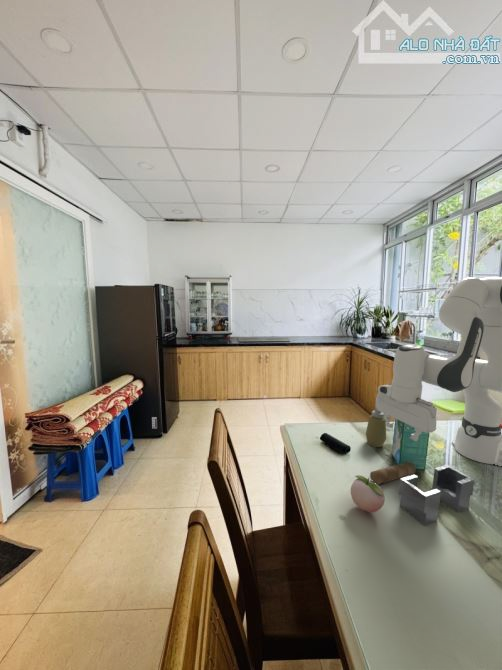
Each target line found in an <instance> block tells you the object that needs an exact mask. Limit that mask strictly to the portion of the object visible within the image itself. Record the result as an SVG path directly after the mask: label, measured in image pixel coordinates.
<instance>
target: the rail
mask: <svg viewBox="0 0 502 670" xmlns="http://www.w3.org/2000/svg"><path fill="white" fill-rule="evenodd" d="M416 471H417V468H415V466H414V465H413V464H412V463H411V462H405V463H402V464H395V465H392V466H387V467H384V468H380V469H377V470H373V471H370V473H369V474H370V476H369V477H370V479H371V481H372V480H373V481H374V482H375V483H376V484H377V485H378V486H379V485H380V484H384V483H387V482H390V481H394V480H398V479H401V478H404V477H407V476H411V475H414V474H415V473H416ZM373 481H372V482H373ZM374 482H373V483H374Z"/></svg>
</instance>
